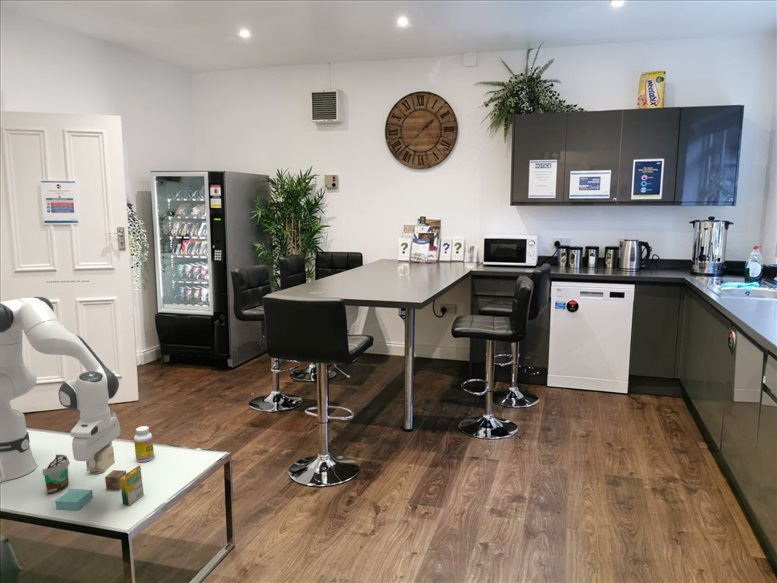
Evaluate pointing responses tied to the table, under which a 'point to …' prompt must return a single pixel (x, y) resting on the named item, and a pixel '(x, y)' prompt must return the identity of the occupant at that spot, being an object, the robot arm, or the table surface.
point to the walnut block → (114, 480)
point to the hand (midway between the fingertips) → (100, 460)
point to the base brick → (74, 499)
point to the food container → (57, 474)
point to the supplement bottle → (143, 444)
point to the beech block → (102, 459)
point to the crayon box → (131, 486)
